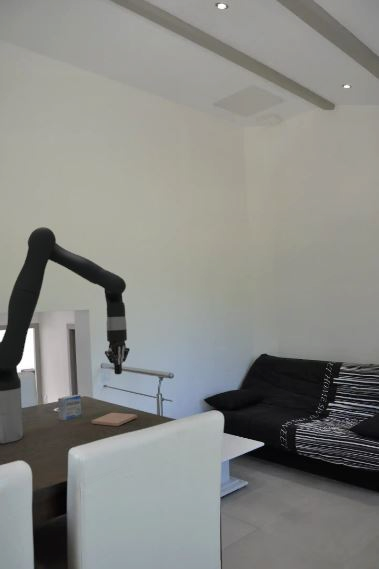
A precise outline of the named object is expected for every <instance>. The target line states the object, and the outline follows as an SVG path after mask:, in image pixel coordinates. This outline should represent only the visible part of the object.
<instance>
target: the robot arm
mask: <svg viewBox="0 0 379 569" xmlns="http://www.w3.org/2000/svg"><path fill="white" fill-rule="evenodd" d="M56 240H57V239H56V235H55V233H54V232H53V231H52V229H50V228H48V227H44V226H41V227H38V228H36V229H34V230H32V232H31V233H30V235H29V237H28V240H27V247H28V248H27V252H26V258H25V260H24V263H23V266H22V267H21V269H20V271H19V273H18V276H17V278H16V280H15V282H14V285H13V286H12V287H13V288H12V290H11V293H10V297H9V300H8V306H7V324H6V327H5V331H4V334H3V337H2V340H1V341H0V444H7V443H12V442H16V441H20V440H22V439H23V438H24V436H23V434H24V432H23V412H22V411H23V408H22V385H21V384H22V382H21V378H20V377H19V374H18V367H17V366H19V364H20V363H21V362H22V360H23V356H24V352H25V346H26V342H27V336H28V332H29V329H30V325H31V323H32V321H33V316H34V314H35V313H34V312H35V311H36V307H37V305H38V301H39V298H40V294H41V290H42V287H43V283H44V276H45V273H46V267H47V265H48V262H49V261H51V262H53V263H56V264H58V265H60V266H62V267H64V268H66V269H67V270H69V271H71V272H73V273H74V274H75V275H78V276H80V277H81V278H83V279H84V280H86V281H88V282H89V283H91V284H94V285H98V286H99V287H101V288H102V289H104V298H105V302H106V341H107V342H109V343H108V349H107V350H105V351H104V354H105V357H106V358H107V359H108V361H109V363H110V364H113V367H114V368H113V369H114V374H115V375H121V374H123V373H122V372H123V363H124V362H126V360H127V357H128V355H129V353H130V347H127V346H126V341H127V340H128V337H127V336H128V333H127V319H126V306H125V302H124V301H123V293H124V292H125V291H126V287H127V284H126V282H125V280H124V278H122V277H121V276H120V275H117V274H115V273H114V272H111V271H110V270H107V269H105V268H103V267H102V266H100V265H99V264H97V263H96V262H94V261H92V260H90V259H88V258H87V257H85V256H81V255H80V254H76V253H73V252H71V251H69V250H67V249H65V248H64V247H62V246H61V245H59V244H58V243H57V241H56Z"/></svg>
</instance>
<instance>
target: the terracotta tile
mask: <svg viewBox="0 0 379 569" xmlns="http://www.w3.org/2000/svg"><path fill="white" fill-rule="evenodd" d="M137 418H138V414H134V413H133V414H132V413H122V412H120V413H119V412H110V413H107V414H105V415H102V416H99V417H98V418H95V419H93V420H91V424H94V425H95V424H96V425H104V426H114V427H119V426H121V425H123V424H125V423H128V422H130V421H132V420H134V419H137Z"/></svg>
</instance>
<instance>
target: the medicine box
mask: <svg viewBox="0 0 379 569" xmlns="http://www.w3.org/2000/svg"><path fill="white" fill-rule="evenodd" d="M57 403H58V404H57V405H58V406H57V408H59V409H58V420H59V421H68V420H70V419H75V418H78V417H82V399H81V395H80V394H72V395H68V396H64V397H59V398H58V399H57Z"/></svg>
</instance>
